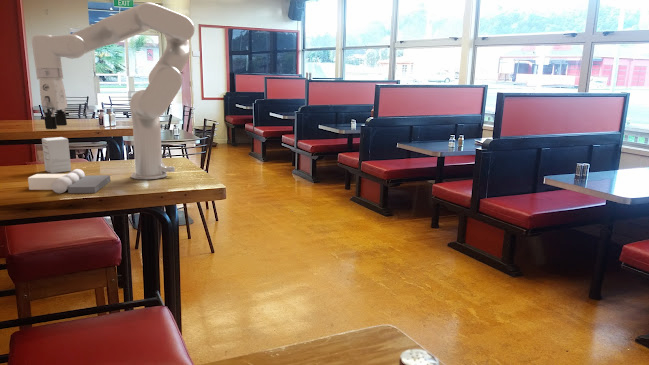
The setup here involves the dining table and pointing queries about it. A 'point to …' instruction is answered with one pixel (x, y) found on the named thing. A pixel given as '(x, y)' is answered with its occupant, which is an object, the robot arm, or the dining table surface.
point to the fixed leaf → (80, 183)
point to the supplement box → (56, 154)
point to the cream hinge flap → (48, 180)
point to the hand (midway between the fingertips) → (56, 127)
